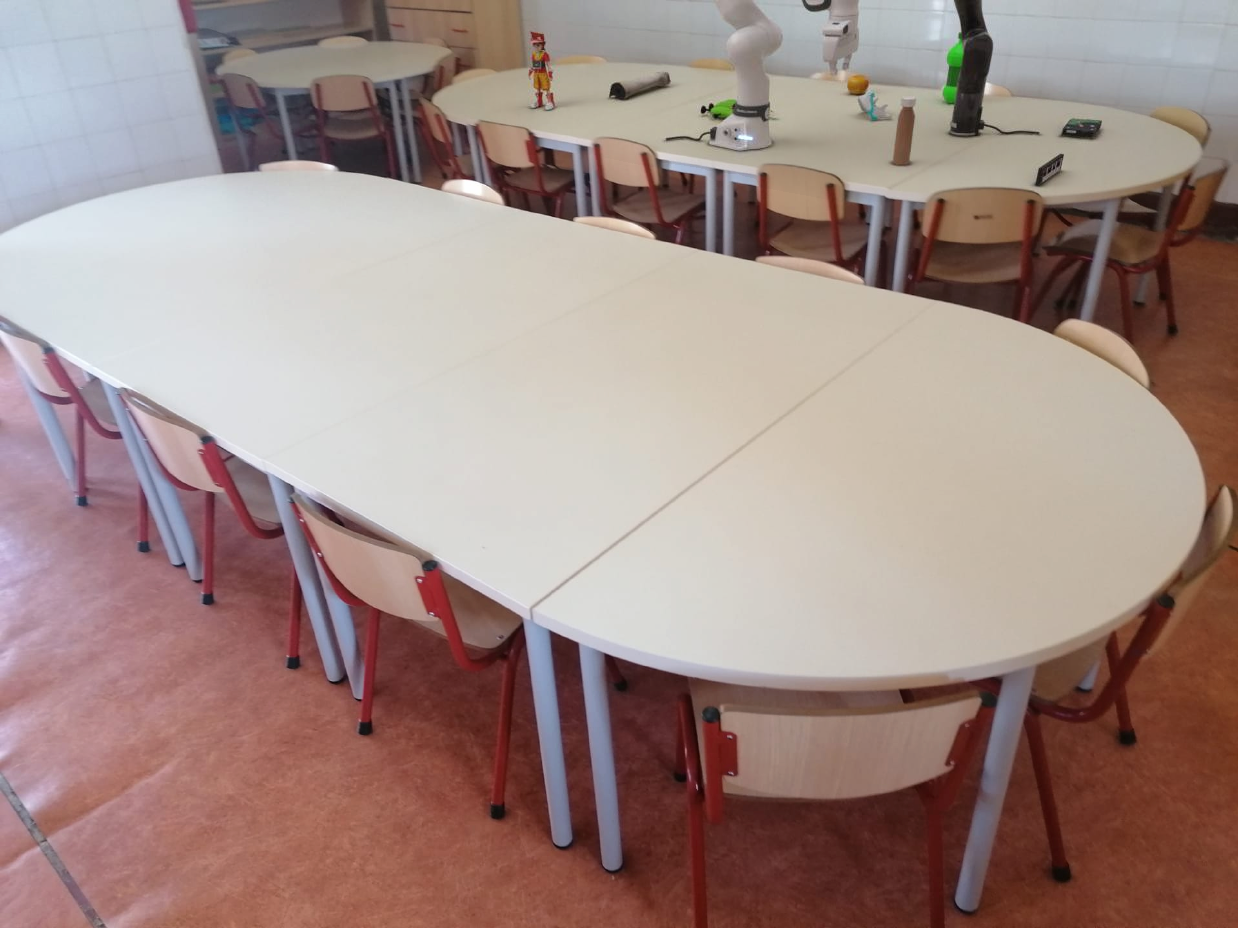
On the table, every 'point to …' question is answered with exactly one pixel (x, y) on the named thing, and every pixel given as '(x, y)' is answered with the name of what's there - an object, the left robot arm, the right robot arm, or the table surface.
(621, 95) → the rolled mat
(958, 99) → the right robot arm
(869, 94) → the anatomical model
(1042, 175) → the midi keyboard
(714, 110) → the toy
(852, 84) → the fruit
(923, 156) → the table surface
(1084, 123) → the disk drive
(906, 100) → the cap
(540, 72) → the toy
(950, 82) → the green dumbbell
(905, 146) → the bottle
